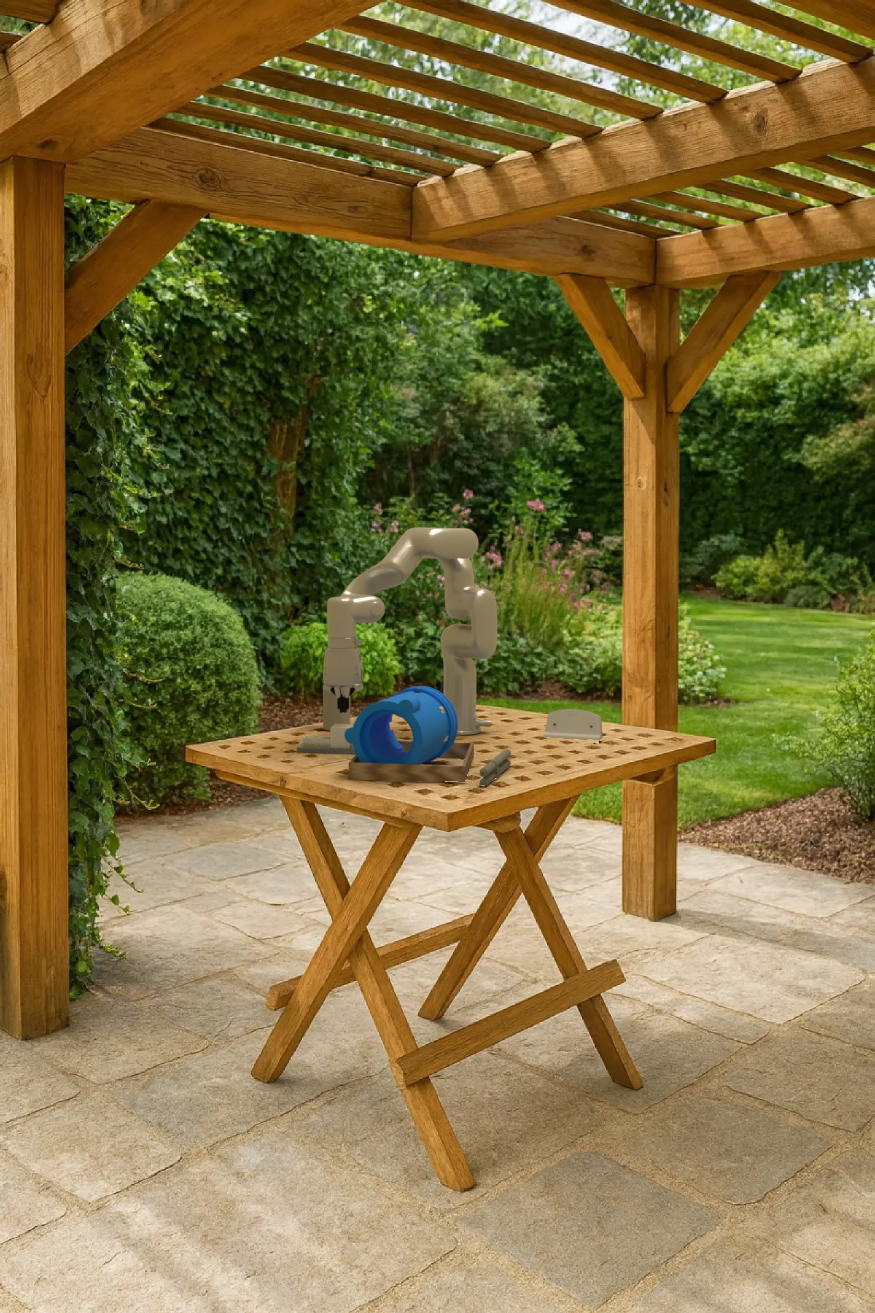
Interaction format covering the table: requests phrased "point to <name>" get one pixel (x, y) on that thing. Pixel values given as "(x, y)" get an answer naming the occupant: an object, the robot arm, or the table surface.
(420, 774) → the brown wooden tray
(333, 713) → the travel mug
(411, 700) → the tube
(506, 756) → the metal rod assembly
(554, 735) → the grey mounting bracket
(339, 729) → the block
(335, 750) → the rail board
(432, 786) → the table surface
